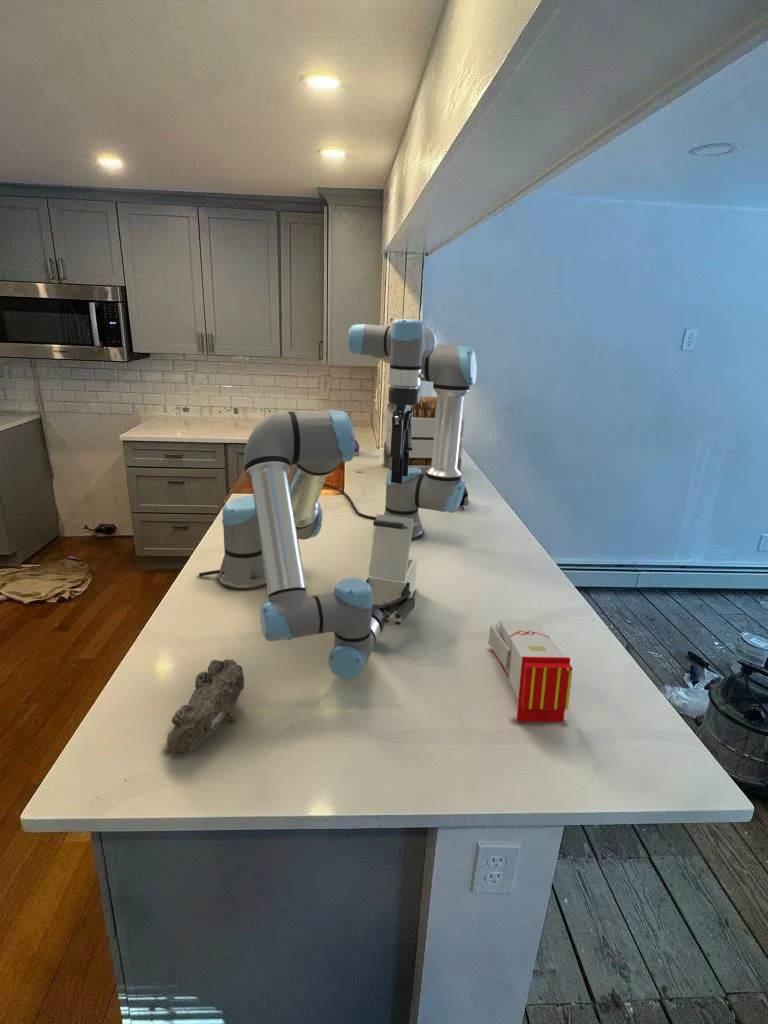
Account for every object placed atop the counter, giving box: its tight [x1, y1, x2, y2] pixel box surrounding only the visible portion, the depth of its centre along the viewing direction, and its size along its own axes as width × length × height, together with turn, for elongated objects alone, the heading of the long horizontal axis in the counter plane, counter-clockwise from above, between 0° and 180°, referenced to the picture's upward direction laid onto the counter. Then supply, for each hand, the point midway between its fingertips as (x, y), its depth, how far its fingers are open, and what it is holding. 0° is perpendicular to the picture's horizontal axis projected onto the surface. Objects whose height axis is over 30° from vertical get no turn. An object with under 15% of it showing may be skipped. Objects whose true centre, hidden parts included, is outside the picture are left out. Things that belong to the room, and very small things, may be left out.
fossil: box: [166, 658, 245, 754], centre depth 106 cm, size 22×10×15 cm
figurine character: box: [458, 486, 470, 511], centre depth 230 cm, size 7×8×15 cm
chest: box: [368, 557, 417, 615], centre depth 153 cm, size 15×10×10 cm, turn 166°
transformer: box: [383, 396, 465, 474], centre depth 268 cm, size 34×33×41 cm
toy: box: [488, 619, 573, 723], centre depth 122 cm, size 12×13×30 cm
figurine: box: [352, 425, 360, 456], centre depth 302 cm, size 9×10×15 cm
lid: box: [368, 513, 414, 581], centre depth 141 cm, size 16×10×8 cm
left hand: (388, 584), depth 148 cm, fingers closed on chest, 9 cm apart
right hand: (399, 478), depth 144 cm, fingers open, 6 cm apart
